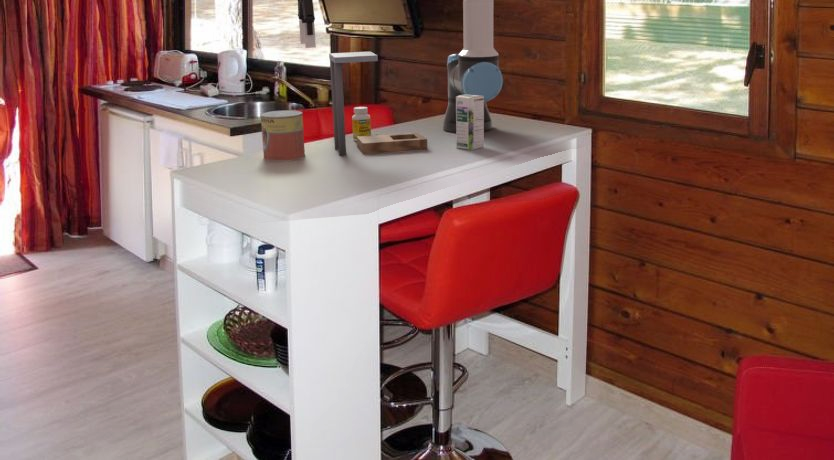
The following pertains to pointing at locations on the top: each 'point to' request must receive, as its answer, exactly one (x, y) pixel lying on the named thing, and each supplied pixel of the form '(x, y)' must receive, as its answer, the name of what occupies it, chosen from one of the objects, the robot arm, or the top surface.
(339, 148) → the grey l-shaped post
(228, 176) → the top surface
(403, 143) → the socket block
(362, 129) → the supplement bottle
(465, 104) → the syrup box
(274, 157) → the canned food
